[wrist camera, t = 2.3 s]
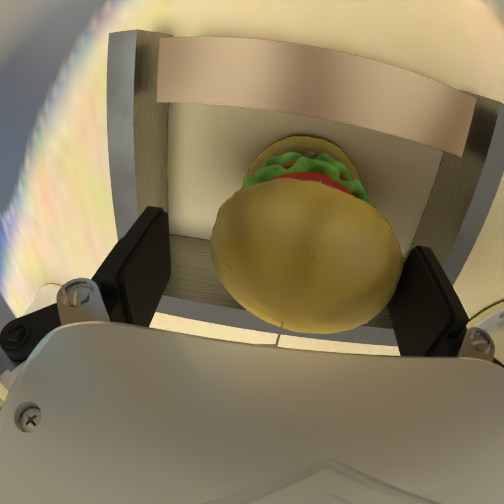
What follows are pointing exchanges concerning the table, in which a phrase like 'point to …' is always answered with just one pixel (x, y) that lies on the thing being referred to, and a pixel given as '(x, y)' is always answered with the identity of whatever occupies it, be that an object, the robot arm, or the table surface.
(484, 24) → the table surface
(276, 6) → the table surface
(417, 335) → the robot arm
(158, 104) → the frame
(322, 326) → the burger with flag pick
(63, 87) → the table surface
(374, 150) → the table surface
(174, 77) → the light brown long block
